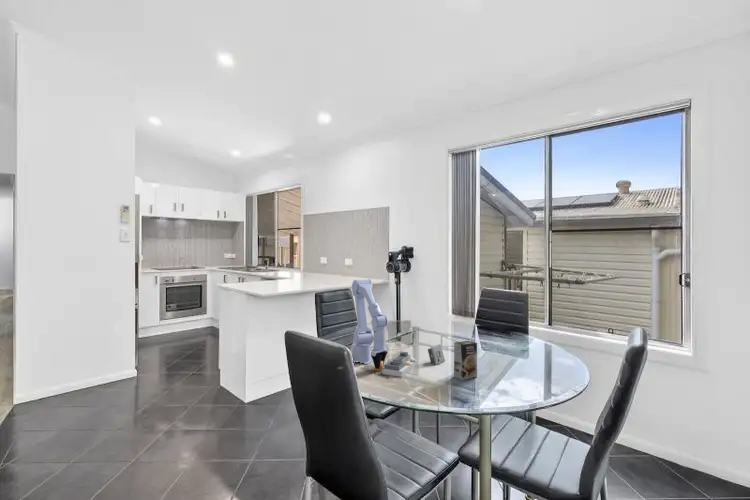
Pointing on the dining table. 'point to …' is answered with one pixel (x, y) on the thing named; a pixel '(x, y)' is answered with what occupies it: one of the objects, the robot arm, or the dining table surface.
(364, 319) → the robot arm
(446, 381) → the dining table surface
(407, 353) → the block
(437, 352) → the electrical switch
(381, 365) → the cap
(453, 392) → the dining table surface
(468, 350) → the coffee box
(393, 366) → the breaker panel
